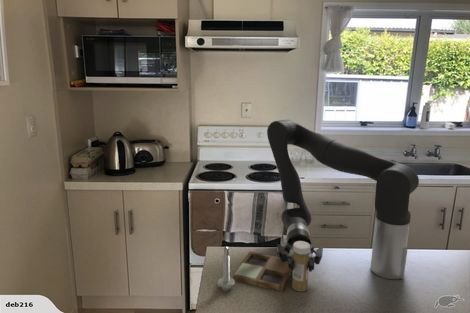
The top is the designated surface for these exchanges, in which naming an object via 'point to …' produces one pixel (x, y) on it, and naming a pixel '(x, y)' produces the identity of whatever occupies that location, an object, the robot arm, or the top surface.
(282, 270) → the board
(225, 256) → the screw
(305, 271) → the sprinkles bottle
